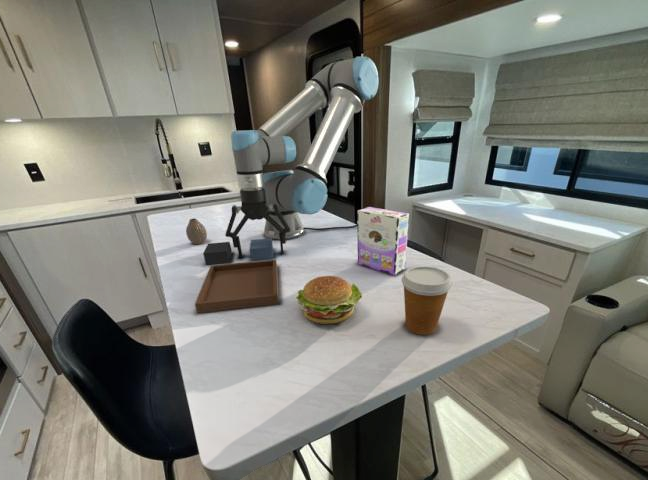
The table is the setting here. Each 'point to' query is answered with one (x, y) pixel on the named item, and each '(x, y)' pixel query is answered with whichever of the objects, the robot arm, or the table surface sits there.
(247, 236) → the table surface
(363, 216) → the candy box
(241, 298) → the brown wooden tray
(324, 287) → the food
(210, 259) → the pad
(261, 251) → the pad
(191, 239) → the vase
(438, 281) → the disposable coffee cup
